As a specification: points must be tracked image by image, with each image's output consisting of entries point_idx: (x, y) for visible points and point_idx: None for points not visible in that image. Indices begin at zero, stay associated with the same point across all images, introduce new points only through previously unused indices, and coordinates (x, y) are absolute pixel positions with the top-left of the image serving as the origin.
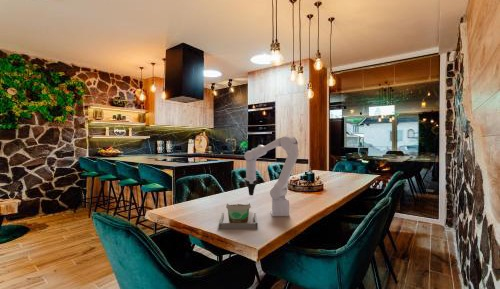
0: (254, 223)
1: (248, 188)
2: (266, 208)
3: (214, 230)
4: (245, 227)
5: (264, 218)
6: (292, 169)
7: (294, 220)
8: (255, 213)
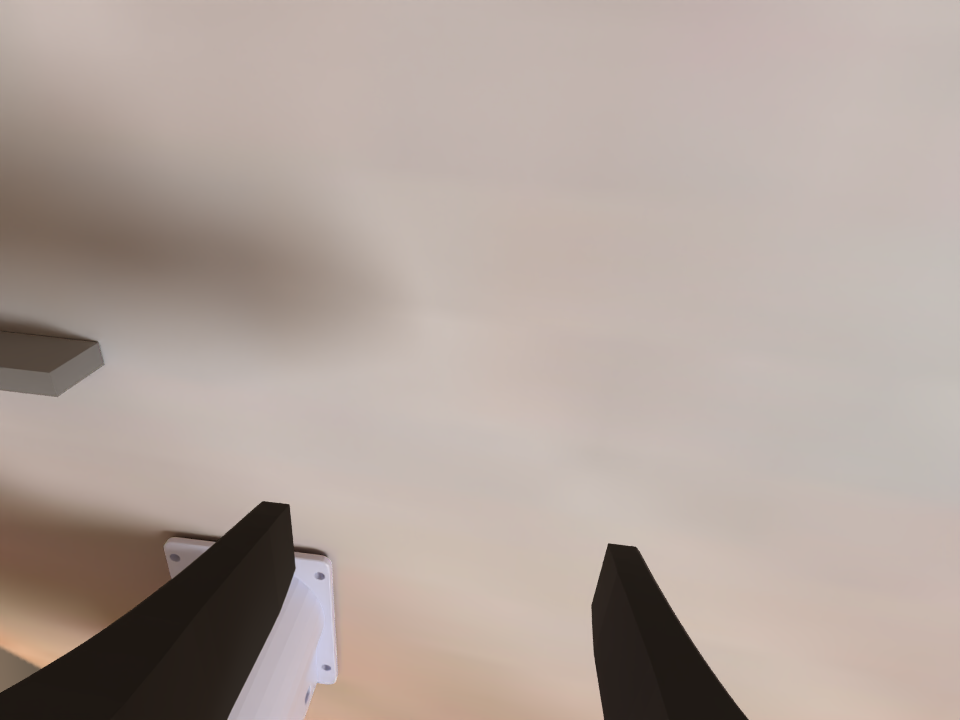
0: None
1: (69, 657)
2: (510, 549)
3: None
4: None
5: (90, 450)
6: None
7: None
8: (23, 388)
